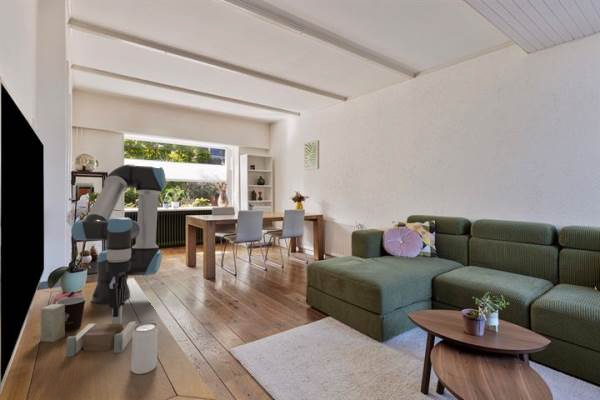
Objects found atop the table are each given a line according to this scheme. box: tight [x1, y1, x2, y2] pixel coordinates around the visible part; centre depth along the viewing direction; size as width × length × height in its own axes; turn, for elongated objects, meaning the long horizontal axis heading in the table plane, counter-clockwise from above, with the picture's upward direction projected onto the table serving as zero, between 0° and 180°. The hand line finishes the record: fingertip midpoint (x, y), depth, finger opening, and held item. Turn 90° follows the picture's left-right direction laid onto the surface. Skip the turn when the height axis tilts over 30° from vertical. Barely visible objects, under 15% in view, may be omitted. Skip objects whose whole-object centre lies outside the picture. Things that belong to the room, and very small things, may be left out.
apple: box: [53, 291, 84, 304], centre depth 117 cm, size 10×9×10 cm
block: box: [83, 323, 124, 351], centre depth 97 cm, size 8×8×5 cm
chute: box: [65, 320, 137, 358], centre depth 97 cm, size 14×15×6 cm
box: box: [40, 303, 66, 343], centre depth 99 cm, size 5×4×11 cm
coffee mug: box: [56, 296, 86, 333], centre depth 107 cm, size 12×9×10 cm
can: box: [130, 322, 159, 375], centre depth 84 cm, size 6×6×12 cm
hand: (116, 324), depth 107 cm, fingers closed
